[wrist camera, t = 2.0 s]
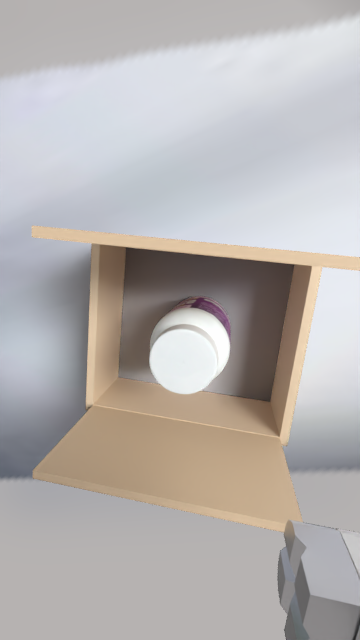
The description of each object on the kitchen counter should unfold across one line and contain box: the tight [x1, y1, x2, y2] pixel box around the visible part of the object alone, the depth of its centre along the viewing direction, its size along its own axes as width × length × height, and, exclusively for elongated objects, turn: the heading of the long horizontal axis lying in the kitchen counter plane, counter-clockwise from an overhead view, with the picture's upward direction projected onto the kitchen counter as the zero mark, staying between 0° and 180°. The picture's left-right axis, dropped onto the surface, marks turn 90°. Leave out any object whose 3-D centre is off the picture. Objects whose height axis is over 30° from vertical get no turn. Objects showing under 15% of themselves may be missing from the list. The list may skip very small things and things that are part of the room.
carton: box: [32, 226, 360, 532], centre depth 21 cm, size 15×13×13 cm
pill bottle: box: [149, 296, 231, 394], centre depth 22 cm, size 5×5×10 cm
